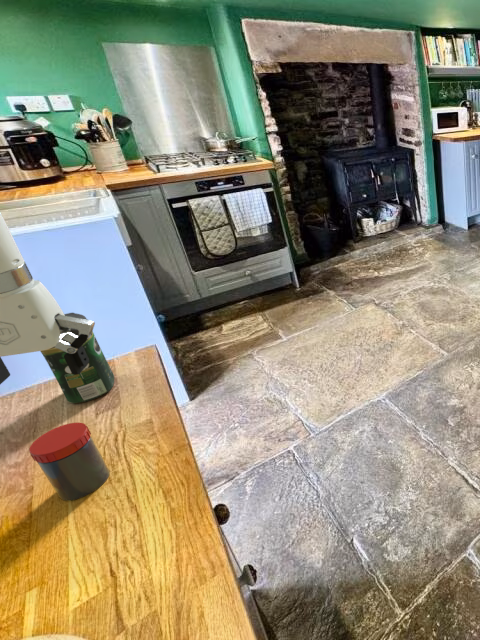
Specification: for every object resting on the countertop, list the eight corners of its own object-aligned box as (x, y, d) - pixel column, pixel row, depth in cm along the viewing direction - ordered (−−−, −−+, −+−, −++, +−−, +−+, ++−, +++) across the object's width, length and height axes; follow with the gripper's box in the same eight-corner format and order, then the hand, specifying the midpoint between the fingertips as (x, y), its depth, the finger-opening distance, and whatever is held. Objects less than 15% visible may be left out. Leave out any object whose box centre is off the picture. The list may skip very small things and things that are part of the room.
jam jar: (50, 506, 67) (21, 461, 63) (69, 474, 72) (44, 431, 68) (100, 492, 70) (76, 448, 65) (115, 462, 75) (93, 420, 71)
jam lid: (24, 469, 63) (18, 460, 62) (47, 437, 69) (42, 429, 68) (80, 454, 66) (75, 446, 65) (98, 425, 71) (94, 417, 71)
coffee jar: (69, 386, 92) (33, 317, 85) (115, 371, 97) (85, 305, 90) (65, 410, 86) (25, 338, 78) (115, 393, 91) (82, 324, 83)
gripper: (-124, 302, 52) (-54, 404, 58) (54, 284, 57) (99, 379, 64) (-72, 277, 58) (-15, 372, 65) (83, 263, 64) (121, 351, 71)
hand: (42, 375), depth 65 cm, fingers open, 9 cm apart
